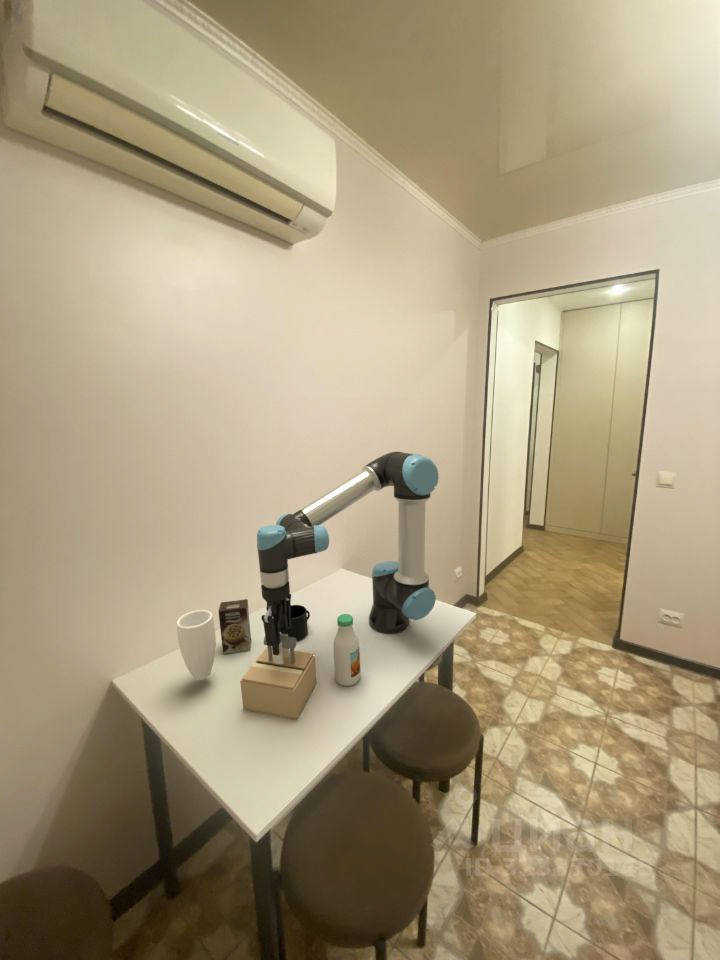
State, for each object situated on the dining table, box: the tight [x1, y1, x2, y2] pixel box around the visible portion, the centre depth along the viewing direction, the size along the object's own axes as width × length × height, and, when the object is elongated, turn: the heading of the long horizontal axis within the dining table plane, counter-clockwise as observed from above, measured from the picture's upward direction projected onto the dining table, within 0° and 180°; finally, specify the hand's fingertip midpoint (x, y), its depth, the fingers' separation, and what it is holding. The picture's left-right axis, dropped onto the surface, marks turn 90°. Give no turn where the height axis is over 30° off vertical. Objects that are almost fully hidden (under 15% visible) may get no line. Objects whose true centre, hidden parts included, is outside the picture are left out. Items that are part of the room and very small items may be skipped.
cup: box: [176, 609, 217, 681], centre depth 114 cm, size 10×10×22 cm
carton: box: [239, 655, 318, 721], centre depth 109 cm, size 16×14×10 cm
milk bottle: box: [333, 613, 361, 687], centre depth 114 cm, size 8×8×20 cm
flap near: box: [255, 636, 314, 670], centre depth 111 cm, size 15×7×8 cm, turn 75°
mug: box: [288, 604, 311, 642], centre depth 139 cm, size 9×12×9 cm
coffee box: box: [218, 598, 252, 655], centre depth 131 cm, size 9×6×16 cm
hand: (281, 658), depth 110 cm, fingers closed on flap near, 3 cm apart
